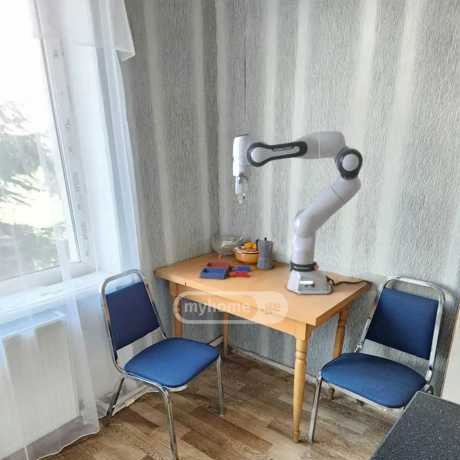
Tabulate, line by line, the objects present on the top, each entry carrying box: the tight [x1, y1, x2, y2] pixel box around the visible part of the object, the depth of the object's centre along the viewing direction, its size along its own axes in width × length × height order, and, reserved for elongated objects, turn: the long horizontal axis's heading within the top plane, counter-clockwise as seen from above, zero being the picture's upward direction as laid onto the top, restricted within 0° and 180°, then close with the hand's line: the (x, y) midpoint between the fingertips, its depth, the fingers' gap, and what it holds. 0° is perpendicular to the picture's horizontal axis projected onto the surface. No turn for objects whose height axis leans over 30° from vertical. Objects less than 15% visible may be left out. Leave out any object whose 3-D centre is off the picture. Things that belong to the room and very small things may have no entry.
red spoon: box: [228, 271, 249, 278], centre depth 219 cm, size 11×4×3 cm, turn 80°
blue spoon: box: [231, 265, 251, 273], centre depth 227 cm, size 11×4×3 cm, turn 80°
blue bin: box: [199, 267, 228, 280], centre depth 219 cm, size 13×9×3 cm
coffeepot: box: [254, 236, 274, 271], centre depth 230 cm, size 15×9×18 cm, turn 35°
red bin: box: [204, 261, 231, 273], centre depth 229 cm, size 13×9×3 cm
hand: (242, 201), depth 192 cm, fingers open, 8 cm apart
